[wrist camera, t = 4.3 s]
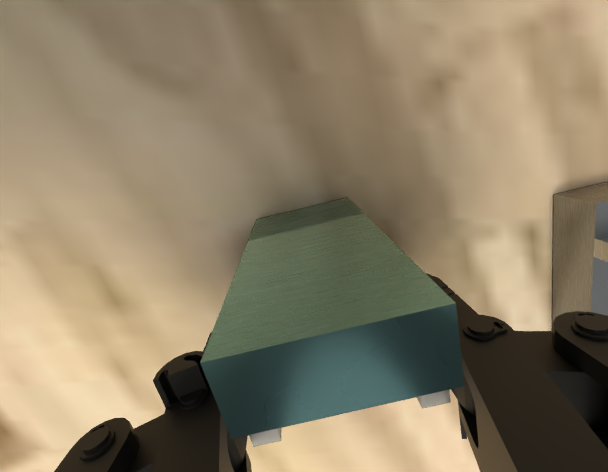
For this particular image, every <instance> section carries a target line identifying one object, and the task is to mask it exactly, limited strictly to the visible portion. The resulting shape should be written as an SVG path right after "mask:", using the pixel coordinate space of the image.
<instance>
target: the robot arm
mask: <svg viewBox="0 0 608 472" xmlns="http://www.w3.org/2000/svg"><path fill="white" fill-rule="evenodd" d="M427 275H428V276H429V277H430V278H431V279H432V280H433V281H434V282H435V283H436V284H437V285H438V286H439V287H440V288H441V289H442V290H443V291H444V292H445V293H446V294H447V295H448V296H449V297H450V298H451V299H452V300H453V301H454V302H455V303H456V308H457V319H458V329H459V339H460V349H461V360H462V370H463V380H464V386H463V387H458V388H454V389H451V390H452V392H453V393H454V395H455V396H456V398H457V399H458V406H459V416H460V425H461V434H462V439H467V437H468V439H469V442H470V445H471V447H472V450H473V453H474V455H475V458H476V461H477V463H478V466H479V469H480V471H481V472H608V316H607V315H602V314H598V313H594V312H584V311H575V312H567V313H563V314H561V315H559V316H557V317H556V318H555V319H554V321H553V329H552V331H514V330H513V329H512V328H511V327H510V326H509V325H508V324H506V323H505V322H504V321H502V320H499V319H497V318H495V317H490V316H485V315H478V314H477V313H476V312H475V311H474V310H473V309H472V308H471V307H470V306H469V305H468V304H466V303H465V302H464V301H463V300H462V299H461V298H460V297H459V296H458V295H457V294H455V293H454V292H453V291H452V290H451V289H450V288H448V286H447V285H446V284H445V283H444V282H443V281H442V280H440V279H439V278H437V277H434V276H432V275H429V274H427ZM211 334H212V332H211V333H210V335H209V338H208V340H207V343H206V346H205V348H204V350H203V352H201V351H194V352H189V353H185V354H183V355H181V356H178V357H176V358H174V359H173V360H171V361H170V362H168V363H167V364H166V365H164V366H163V367H162V368H161V369H160V370H159V371H158V373H157V374H156V376H155V378H154V380H153V382H154V384H155V386H156V388H157V391H158V393H159V395H160V397H161V399H162V401H163V403H164V405H165V407H166V409H165V414H163V415H161V416H159V417H157V418H155V419H153V420H151V421H149V422H147V423H145V424H143V425H141V426H139V427H137V428H135V429H133V427H132V425H131V424H130V422H129V421H128V420H126V419H125V418H114V419H111V420H108V421H105V422H103V423H101V424H99V425H98V426H96V427H94V428H93V429H91V430H90V431H89V432H88V433H86V434H85V435H84V436H83V437H81V438H80V439H79V441H78V442H77V443H76V444H75V445H74V446H73V447H72V448H71V450H70V451H69V452H68V454H67V455H66V456H65V458H64V459H63V460H62V462H61V463H60V465H59V466H58V467H57V469H56V470H55V471H54V472H252V471H251V462H250V459H249V456H248V454H247V451H246V443H247V436H248V435H246V436H242V437H238V438H233V439H231V437H230V435H229V432H228V430H227V427H226V425H225V422H224V420H223V417H222V415H221V413H220V410H219V408H218V405H217V403H216V400H215V398H214V395H213V393H212V391H211V388H210V386H209V383H208V381H207V378H206V376H205V374H204V371H203V369H202V366H201V364H200V362H201V359H202V357H203V354H204V352H205V349H206V347H207V344H208V341H209V339H210V336H211ZM417 399H418V401H419V403H420V405H421V407H422V408H427V407H431V406H436V405H440V404H445V403H449V402H450V393H449V390H445V391H440V392H436V393H432V394H427V395H423V396H418V397H417ZM466 434H467V435H466ZM249 436H250V439H251V441H252V444H253V447H255V446H259V445H264V444H268V443H272V442H277V441H281V428H277V429H273V430H268V431H264V432H260V433H255V434H251V435H249Z"/></svg>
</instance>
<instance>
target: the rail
mask: <svg viewBox="0 0 608 472" xmlns="http://www.w3.org/2000/svg"><path fill="white" fill-rule="evenodd" d="M575 311H584V312H594V313H598V314H602V315H607V316H608V182H605V183H600V184H596V185H592V186H588V187H584V188H579V189H575V190H571V191H567V192H563V193H558V194H554V216H553V307H552V329H553V321H554V319H555V318H556V317H557V316H559V315H561V314H563V313H567V312H575Z"/></svg>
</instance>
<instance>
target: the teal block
mask: <svg viewBox="0 0 608 472" xmlns="http://www.w3.org/2000/svg"><path fill="white" fill-rule="evenodd" d="M200 364H201V366H202V369H203V371H204V374H205V376H206V378H207V381H208V383H209V386H210V388H211V391H212V393H213V395H214V398H215V400H216V403H217V405H218V408H219V410H220V413H221V415H222V417H223V420H224V422H225V425H226V427H227V430H228V432H229V435H230V437H231V439H233V438H238V437H242V436H246V435H251V434H255V433H260V432H264V431H268V430H273V429H277V428H282V427H286V426H291V425H295V424H299V423H304V422H308V421H313V420H317V419H321V418H326V417H330V416H335V415H339V414H343V413H348V412H352V411H357V410H361V409H365V408H370V407H374V406H379V405H383V404H388V403H392V402H396V401H401V400H405V399H410V398H414V397H418V396H423V395H427V394H432V393H436V392H440V391H445V390H449V389H454V388H458V387H463V386H464V380H463V370H462V360H461V349H460V339H459V329H458V319H457V308H456V303H455V302H454V301H453V300H452V299H451V298H450V297H449V296H448V295H447V294H446V293H445V292H444V291H443V290H442V289H441V288H440V287H439V286H438V285H437V284H436V283H435V282H434V281H433V280H432V279H431V278H430V277H429V276H428V275H427V274H426V273H425V272H423V271H422V270H421V269H420V268H419V267H418V266H417V265H416V264H415V263H414V262H413V261H412V260H411V259H410V258H409V257H408V256H407V255H406V254H405V253H404V252H403V251H402V250H401V249H400V248H399V247H398V246H397V245H396V244H395V243H394V242H393V241H392V240H391V239H390V238H389V237H388V236H387V235H385V234H384V233H383V232H382V231H381V230H380V229H379V228H378V227H377V226H376V225H375V224H374V223H373V222H372V221H371V220H370V219H369V218H368V217H367V216H366V215H365V214H364V213H363V212H362V211H361V210H360V209H359V208H358V207H357V206H356V205H355V204H354V203H353V202H352V201H351V200H350V199H348V198H343V199H339V200H335V201H331V202H327V203H322V204H318V205H314V206H310V207H306V208H302V209H298V210H294V211H290V212H285V213H281V214H277V215H273V216H269V217H265V218H261V219H257V220H256V222H255V225H254V227H253V230H252V232H251V235H250V238H249V240H248V243H247V245H246V248H245V250H244V253H243V255H242V258H241V260H240V263H239V265H238V268H237V270H236V273H235V276H234V278H233V281H232V283H231V286H230V288H229V291H228V293H227V296H226V298H225V301H224V303H223V306H222V309H221V311H220V314H219V316H218V319H217V321H216V324H215V326H214V329H213V331H212V334H211V336H210V339H209V341H208V344H207V347H206V349H205V352H204V354H203V357H202V359H201V362H200Z"/></svg>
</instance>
